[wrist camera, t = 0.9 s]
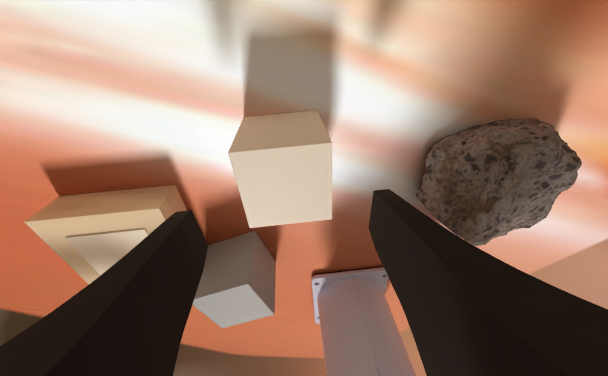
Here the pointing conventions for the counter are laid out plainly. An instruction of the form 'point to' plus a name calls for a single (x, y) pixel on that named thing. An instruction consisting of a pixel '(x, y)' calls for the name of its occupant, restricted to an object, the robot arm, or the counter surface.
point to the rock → (497, 178)
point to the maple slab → (103, 225)
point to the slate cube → (237, 281)
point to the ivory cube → (283, 168)
